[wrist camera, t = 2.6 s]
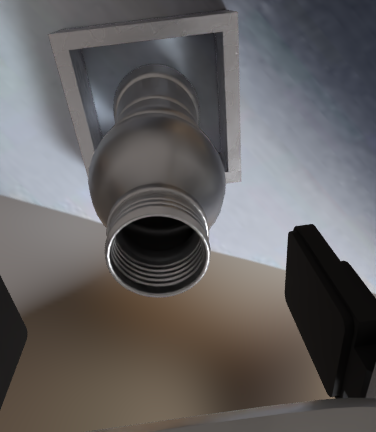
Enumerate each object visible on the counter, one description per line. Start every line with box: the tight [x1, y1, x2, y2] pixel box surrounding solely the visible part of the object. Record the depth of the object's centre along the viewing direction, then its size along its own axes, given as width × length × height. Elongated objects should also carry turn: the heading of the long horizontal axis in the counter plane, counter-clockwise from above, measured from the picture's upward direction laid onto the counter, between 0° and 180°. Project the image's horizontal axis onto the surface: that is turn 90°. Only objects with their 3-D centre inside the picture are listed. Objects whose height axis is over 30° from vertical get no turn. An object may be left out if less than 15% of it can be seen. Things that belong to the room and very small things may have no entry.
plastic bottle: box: [88, 64, 226, 297], centre depth 20 cm, size 6×7×20 cm
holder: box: [48, 10, 241, 183], centre depth 27 cm, size 12×12×4 cm
